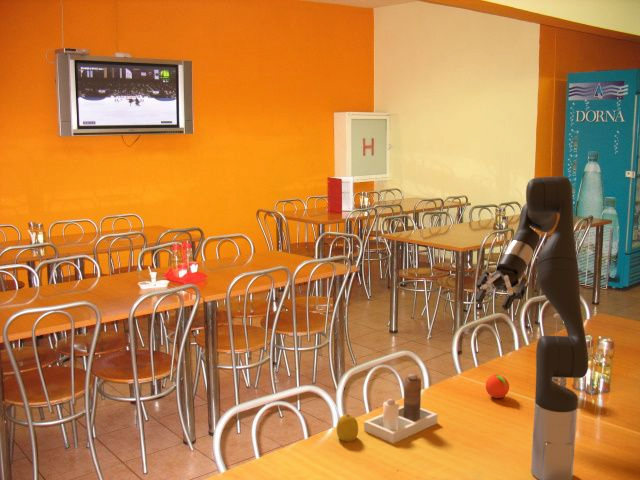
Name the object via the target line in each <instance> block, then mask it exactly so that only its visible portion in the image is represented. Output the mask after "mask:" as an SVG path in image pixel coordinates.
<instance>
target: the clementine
mask: <svg viewBox="0 0 640 480" xmlns="http://www.w3.org/2000/svg"><path fill="white" fill-rule="evenodd" d="M485 390H486V393H487V394H488V395H489V396H490V397H492V398H494V399H502V398H504V397H506V395H508V393H509V390H510V383H509V381H508V380H507V378H506V377H504V375H501V374H493V375H491V376H489V377H487V379H486V381H485Z"/></svg>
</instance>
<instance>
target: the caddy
mask: <svg viewBox="0 0 640 480" xmlns="http://www.w3.org/2000/svg"><path fill="white" fill-rule="evenodd" d="M438 417H439V416H438V413H435V412H433V411H430V410H427V409H425V408H423V407H420V420H418V421H415V422H413V421H411V420H408V419H406V418H404V404H403V405H401V406H399V418H398V429H397V430H395V431H390V430H388V429H386V428H383V413H382V414H379V415H377V416H374V417H372V418H369V419H367V420H364V422H363V431H364V432H365V433H369V434H371V435H373V436H374V437H375V436H376V437H377V438H378V439H379V438H380V439H381V440H384V441H386V442H389V443H391V444H396V443H397V442H400V441H401V440H404V439H406V438H408V437H410V436H413V435H415V434H416V433H419V432H420V431H423V430H426V429H427V428H429V427H432V426H434V425H436V424H438Z"/></svg>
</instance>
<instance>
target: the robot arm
mask: <svg viewBox="0 0 640 480" xmlns="http://www.w3.org/2000/svg"><path fill="white" fill-rule="evenodd" d="M573 193H574V192H573V186H572V183H571V180H570V178H569V177H567V176H560V175H559V176H542V177H541V176H539V177H534V178H531V179H530V180H529V181H528V182H527V185H526V189H525V204H524V205H523V206H522V208H521V210H520V214H519V221H518V225H517V226H518V227H517V229H516V232H515V234H514V236H513V237H512V239H511V241H510V243H509V244H508V246H507V247H506V248H505V251H504V252H503V254H502V256H501V258H500V260H499V262H498V263H497V265H496V269H495V271H494V272H492V273H491V272H489V271H488V270H484V271H483V272H482V274H481V275H480V276H479V279H478V281H477V282H476V283H475V287H476V288H477V290H478V292H477V295H476V296H475V301H476V303H477V305H482V303H483V301H484V300H485V297H487V294H488V293H490V292H494V291H495V290H499V291H500V290H502V291H505V292H508V295H506V297H505V299H504V301H503V303H502V305H501V306H502V309H503V310H504V311H508V310H509V309H510V308H511V307H512V304H514V301H516V300H523V298H524V297H525V293H526V291H527V290H528V287H529V285H530V283H529V280H528V279H527V277H526V276H525V277H523V276H524V273H525V272H526V270H527V268H528V266H529V264H530V262H531V260H532V257H533V254H534V253H535V251H536V248H537V247H538V244H539V243H540V240H541V239H540V238H541V237H540V235H539V233H538V232H537V231H536V230H538V231H539V232H542V233H549V232H551V231H552V230H553V229H554V230H553V232H552V234H551V235H550V237H549V238H548V239H547V241H546V242H545V244H544V245H543V247H542V248H541V250H540V251H539V254H538V256H537V260H536V265H537V268H536V269H537V280H538V286H539V289H540V291H541V292H542V293H543V295H544V297H545V298H546V299H547V300H548V302H549V303H550V305H551V306H552V307H553V308H554V309H555V311H556V312H557V314H559V315H560V319H561V321H562V322H563V324H564V326H565V331H566V334H567V335H542V336H540V337H539V338H538V340H537V342H536V343H537V344H536V350H535V352H536V353H535V354H536V355H535V364H536V365H535V369H536V370H535V373H536V374H535V375H536V376H535V393H534V394H535V398H534V409H533V410H534V413H533V427H532V428H533V430H532V431H533V432H532V446H531V463H530V464H531V467H530V472H531V475H532V476H533V477H535V478H536V479H537V480H573V475H574V459H575V446H576V445H575V442H576V431H577V429H576V427H577V419H578V418H577V415H578V402H579V397H578V395H577V394H576V393H575V392H574V391H573V390H572V389H570V388H567V386H566V387H563V386H560V384H559V383H558V384H556V383H555V382H553V381H552V377H565V378H566V379H567V378H569V379H570V378H571V379H581V378H584V377H585V376H586V375H587V373H588V371H589V351H588V345H587V344H588V343H587V339H586V333H585V332H586V330H585V326H584V325H585V324H584V321H583V320H584V319H583V314H582V304H581V292H580V291H581V290H580V275H579V274H580V273H579V264H578V257H577V250H576V240H575V229H574V227H575V226H574V198H573V196H574V195H573ZM558 214H559V218H558ZM492 284H493V285H492ZM517 285H518V287H517V288H516V290H515V288H514V287H516V286H517Z"/></svg>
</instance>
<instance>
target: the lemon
mask: <svg viewBox="0 0 640 480" xmlns="http://www.w3.org/2000/svg"><path fill="white" fill-rule="evenodd" d="M358 433H359V425H358V421H357V419H356V418H355V416H353V415H351V414H349V413H346V414H344V415H342V416H340V417H339V419H338V421H337V424H336V435H337V437H338V439H339V440H341V441H342V442H345V443H347V442H349V443H350V442H353V441H354V440H356V439H357V438H358V437H357V436H358V435H359V434H358Z"/></svg>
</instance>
